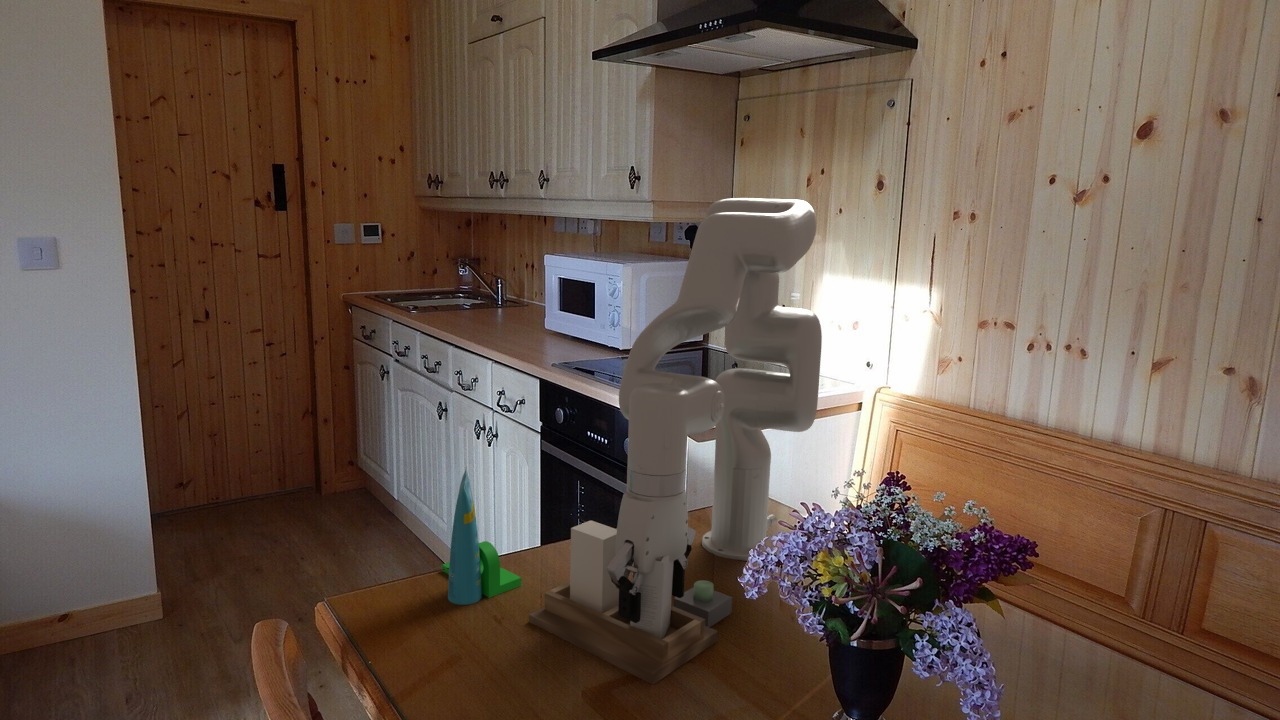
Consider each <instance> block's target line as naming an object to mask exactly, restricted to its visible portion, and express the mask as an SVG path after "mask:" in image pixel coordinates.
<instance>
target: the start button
mask: <svg viewBox="0 0 1280 720" xmlns="http://www.w3.org/2000/svg"><path fill="white" fill-rule="evenodd" d="M693 587H694V599H695V600H697V601H699V602H710V601H712V600H713V590H714V583H713V581H712V582H711V581H709V580H705V579H704V580H703V579H702V580H701V579H700V580H697V581H695V582H694V583H693Z"/></svg>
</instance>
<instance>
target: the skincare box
mask: <svg viewBox="0 0 1280 720" xmlns="http://www.w3.org/2000/svg"><path fill="white" fill-rule="evenodd" d="M673 563H674V561H673V562H671V563H670V562H669V554H668V555H666V556H664V557H662V558H660V559H658V560H656V561H655V566H654V571H653V572H650V573H648V574H645V575H644V577H643V580H642V582H641V584H640V587H639V589H638V591H637V592H640V593H641V614H640V621H639V622H637V623H634V622H632V621H630V626H632V627H635V628H637V629H639V630H642V631H644V632H646V633H648V634H651V635H653V636H655V637H658V638H660V639H663V638H664V636H665V634H666V632H667V630H668V628H669V626H670V616H671V606H672V599H673V598H672V596H673V595H672V580H673ZM633 567H636V568H638V566H637V565H636V563H635V560H634V562H633ZM635 574H636V573H633V572H632V580H633V579H634V576H635Z"/></svg>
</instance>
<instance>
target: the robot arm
mask: <svg viewBox="0 0 1280 720" xmlns="http://www.w3.org/2000/svg"><path fill="white" fill-rule="evenodd" d="M705 215H706V217H705V218H704V219H703V220H702V221H701V223H700V224H699V226H698V228H697V230H696V233H695V237H694V240H693V244H692V248H691V251H690V255H689V258H688V262H687V265H686V269H685V272H684V276H683V279H682V283H681V286H680V290H679V294H678V297H677V299H676V300H675V302H674V303H673V304H671V305H670V306H669V307H668V308H666V309H665V310H663V311H661V313H660V314H659V315H658V316H656V317H655V318H654V319H652V320H651V322H650V323H649V324H647V325H646V327H645V328H644V329H643V330H642V331H641V333H640V334H639V335H638V336H637V338H636V339H635V341H634V342H633V344H632V346H631V348H630V351H629V355H628V356H627V360H626V364H625V367H624V370H623V374H622V377H621V381H620V385H619V386H620V387H619V392H618V407H619V410H620V413H621V414H622V416H623V417H624V418H625V419H627V420H628V429H627V430H628V434H627V435H628V437H627V440H628V442H627V469H626V474H627V475H626V492H624V493H623V494H622V499H621V502H620V508H619V512H618V520H617V526H616V529H617V534H616V547H615V557H614V558H613V559H612V561H611V562H610V563H609V565H608V566H607V571H608V573H609V575H610V577H611V581H612V582H613V583H614V584H615V585H616V588H617V589H619V609H618V614H619V616H620V617H622V618H625V619H627V620H629V621H632V622H634V623H637V622H639V621H640V614H641V593H640V592H637V591H638V589H639V587H640V584H641V582H642V580H643V577H644V575H645V574H648V573H650V572H653V571H654V566H655V561H656V560H658V559H660V558H662V557H664V556H666V555H668V554H669V562H670V563H671V562H673V561H674V563H673V580H672V596H673V597H674V598H675V597H678V598H681V597H683V596H684V592H685V577H686V575H685V574H686V573H685V572H686V570H685V569H686V568H687V567H688V564H689V561H688V558H689V556H690V553H691V552H692V545H693V543H694V540H695V536H696V533H697V532H696V530H695V529H693V528H691V527H690V526H689V511H688V510H689V509H688V500H687V498H688V497H687V491H686V478H687V476H686V475H687V454H688V453H687V451H688V448H687V447H688V437H689V436H692V435H698V434H703V433H707V432H709V431H710V430H712V429H715V449H714V450H715V451H714V469H713V471H714V472H713V489H712V512H711V530H709V531H707V532H705V534H703V536H702V538H701V545H702V548H704V549H705V550H706V551H708V552H709V553H710V554H712V555H714V556H717V557H721V558H724V559H730V560H740V561H744V562H748V561H747V559H748V554H749V551H750V550H751V549H752V548H753V547H754V546H755V545H756V544H757V543H758V542H759V541H760V540H762V539H763V538H765V537H770V536H769V535H768V533H767V532H768V529H769V528H770V527H771V526H773V525H775V524H777V517H776V515H775V514H772V513H771V514H768V512H769V510H768V509H769V495H770V494H769V492H770V478H771V477H770V476H771V475H770V474H771V462H772V452H771V448H770V444H769V441H768V440H767V438H766V436H765V435H764V432H763V431H762V429H770V430H777V431H783V432H793V433H801V432H806V431H808V430H809V429H811V427H812V426H813V425H814V422H815V420H816V417H817V416H816V415H817V412H818V402H819V390H820V389H819V388H820V387H819V386H820V376H821V375H820V374H821V361H822V360H821V358H822V347H823V346H822V344H823V343H822V341H823V338H822V337H823V335H822V334H823V333H822V326H821V322H820V320H819V318H818V316H817V314H815V313H814V312H813V311H812V310H809V309H805V308H800V307H788V306H787V307H786V306H785V307H784V306H780V303H779V290H780V288H779V287H780V274H783V273H785V272H787V271H789V270H791V269H792V268H793V267H794V266H795V265H796V264H797V263H798V262H799V261H800V260H801V259H802V258H803V257H804V256H805V255H806V254H807V253H808V252H809V250H810V249H811V247H812V245H813V243H814V239H815V236H816V232H817V218H816V213H815V210H814V209H813V207H812V205H811V204H810V203H808V202H807V201H805V200H803V199H802V200H801V199H790V198H789V199H781V198H755V197H749V198H748V197H736V198H735V197H734V198H732V197H731V198H724V199H719V200H716V201H714V202H713V203H711V204H710V205H709V207H708V209H707V210H706V214H705ZM723 328H724V344H725V349H726V350H725V351H726V352H727V354H728V355H729V356H730V357H731V358H733V359H736V360H739V361H745V362H746V361H747V362H753V363H761V364H771V365H780V366H785V367H786V368H787V370H788V372H789V373H788V372H778V371H770V370H765V369H764V370H763V369H754V368H753V369H752V368H745V367H744V368H743V367H742V368H740V367H739V368H738V367H737V368H730V369H726V370H724V371H722V372H720V374H718V375H717V376H716V378H715V379H714V380H713V379H711V378H709V377H706V376H699V375H692V374H682V373H676V372H668V371H661V370H659V371H658V370H655V369H656V367H657V366H658V363H660V362H659V361H660V360H661V359H662V358H663V357H664V355H666V354H667V353H668V352H669V351H670V350H672V349H673V348H674V347H677V346H678V345H680V344H682V343H684V342H688V341H690V340H692V339H695V338H697V337H700V336H704V335H707V334H709V333H712V332H715V331H717V330H720V329H723ZM634 560H635V563H636V565H637V566H638V568H636V567H634ZM631 573H632V574H633V573H636V574H635V576H634V579H633V578H632V581H631V580H630V579H629V576H630V574H631Z"/></svg>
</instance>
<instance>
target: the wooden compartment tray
mask: <svg viewBox="0 0 1280 720" xmlns="http://www.w3.org/2000/svg"><path fill="white" fill-rule="evenodd" d="M618 609H619V605H618V606H616V607H614V608H612V609H610V610H609V611H607V612H605V613H600V612H598V611H596V610H594V609H591V608H589V607H587V606H584V605H582V604H580V603H578V602H575V601H573V600H571V599H570V580H569V581H567V582H564V583H562V584H561V585H559V586H556V587H554V588H552V589H549V590H548V591H546V592H544V606H543V607H542V608H540V609H538V610H536V611H533V612H531V613H529V614H528V623H530V622H531V623H530V624H532V625H533V626H536V625H537V626H536V627H538V628H540V627H541V628H540V629H542V628H543V629H542V630H544V629H545V630H544V631H546V630H547V631H549V632H551V633H553V634H554V636H555V635H556V637H557V636H559V637H560V639H561V638H562V640H563V639H564V641H565V640H566V642H567V641H568V642H567V643H569V642H570V644H572V645H573V646H576V647H578V648H580V649H581V650H584V651H586V652H588V653H589V654H592V655H594V656H595V657H597V658H600V659H601V660H603V661H605V662H607V663H609V664H611V665H613V666H615V667H617V668H619V669H621V670H622V671H625V672H627V673H629V674H631V675H632V676H635V677H637V678H638V679H640V680H643V681H645V682H646V683H648V684H651V685H655V684H656V683H658V682H660V681H661V680H662V679H664V678H665V677H667V676H668V675H670V674H671V673H673V672H675V671H676V670H677V669H678V668H680V667H682V666H683V665H685V664H686V663H688V662H689V661H690V660H692V659H694V658H695V657H696V656H698V655H700V654H702V652H704V651H706V650H707V649H708V648H710V647H711V646H713V645H715V644H716V643H717V642H718V640H719V639H718V638H719V637H718V636H719V631H718V630H716V629H715V628H712V627H707V626H705V619H703V618H701V617H698V616H696V615H693V614H691V613H688V612H686V611H683V610H681V609H678V608H676V607H674V605H671V616H670V626H669V628H668V630H667V632H666V634H665V636H664V638H663V639H660V638H658V637H655V636H653V635H651V634H648V633H646V632H644V631H642V630H639V629H637V628H635V627H632V626H630V621H629V620H627V619H625V618H622V617H620V616H619V614H618ZM547 631H546V632H547ZM549 632H548V633H549ZM551 633H550V634H551ZM553 634H552V635H553ZM559 637H558V638H559Z"/></svg>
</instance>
